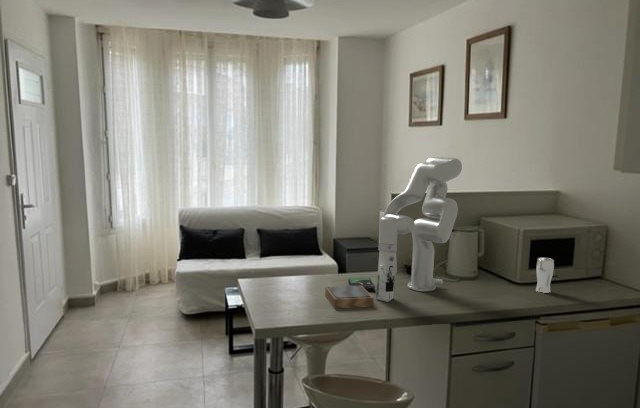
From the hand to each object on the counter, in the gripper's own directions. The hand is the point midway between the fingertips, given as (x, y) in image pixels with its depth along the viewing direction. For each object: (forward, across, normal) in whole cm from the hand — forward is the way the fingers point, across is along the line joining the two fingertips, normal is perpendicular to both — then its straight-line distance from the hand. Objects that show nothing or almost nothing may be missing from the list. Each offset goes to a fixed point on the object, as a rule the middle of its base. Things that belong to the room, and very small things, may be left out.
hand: (385, 288), depth 196 cm
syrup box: (+5, 0, 0) cm, 5 cm away
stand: (+5, 0, +16) cm, 17 cm away
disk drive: (+6, +18, +5) cm, 19 cm away
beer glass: (+5, 0, -75) cm, 75 cm away
